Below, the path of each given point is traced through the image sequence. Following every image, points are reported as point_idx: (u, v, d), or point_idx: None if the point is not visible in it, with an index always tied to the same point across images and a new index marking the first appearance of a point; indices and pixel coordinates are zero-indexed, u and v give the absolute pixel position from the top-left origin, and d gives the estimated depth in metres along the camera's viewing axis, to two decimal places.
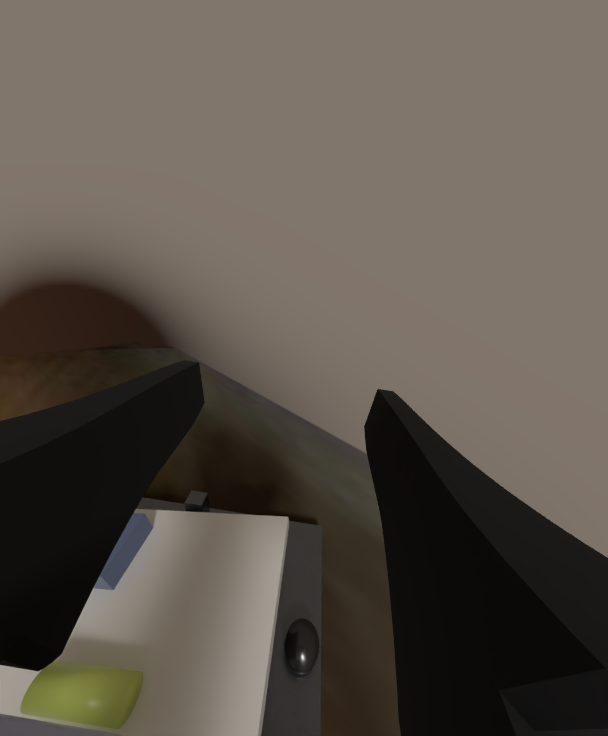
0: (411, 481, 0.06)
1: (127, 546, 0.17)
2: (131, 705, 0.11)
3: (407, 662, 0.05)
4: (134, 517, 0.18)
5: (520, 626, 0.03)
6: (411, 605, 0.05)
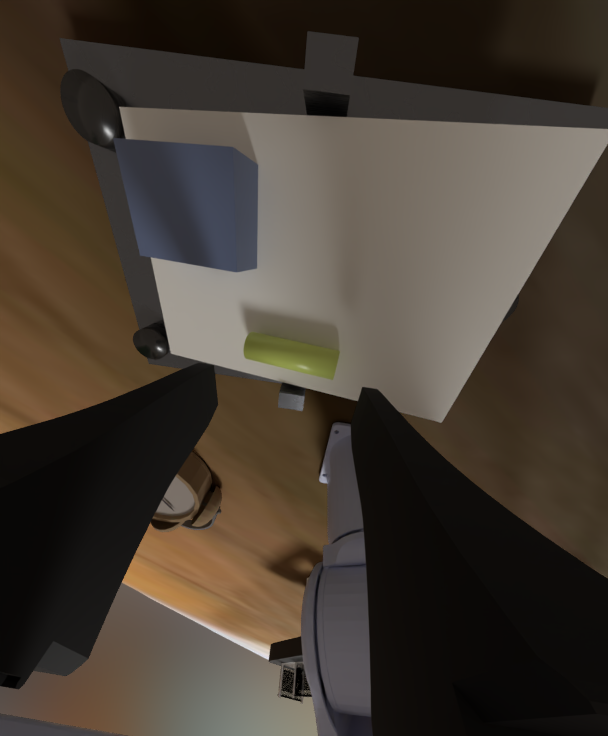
0: (387, 478, 0.06)
1: (242, 220, 0.09)
2: (337, 364, 0.12)
3: (379, 658, 0.05)
4: (217, 158, 0.08)
5: (471, 619, 0.03)
6: (384, 601, 0.05)
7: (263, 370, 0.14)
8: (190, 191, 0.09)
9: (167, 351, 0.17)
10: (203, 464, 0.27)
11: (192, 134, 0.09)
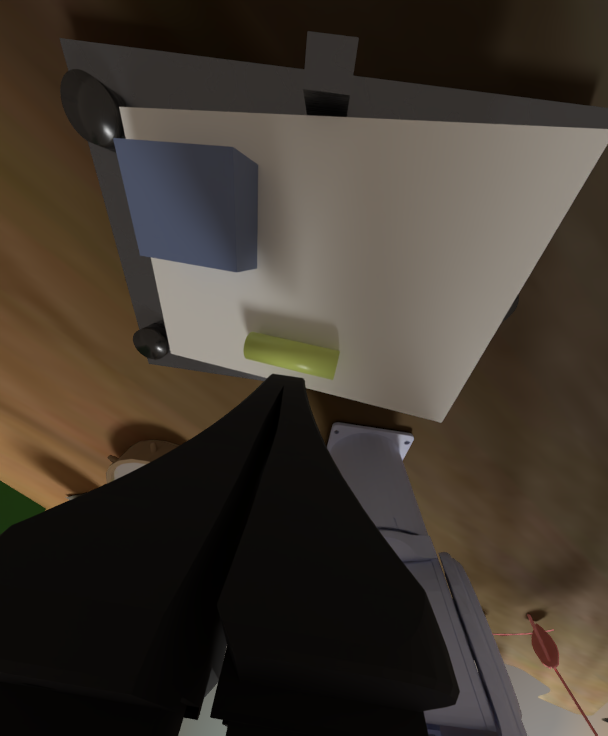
0: None
1: (242, 220, 0.09)
2: (337, 364, 0.12)
3: None
4: (217, 158, 0.08)
5: None
6: None
7: (263, 370, 0.14)
8: (190, 191, 0.09)
9: (167, 351, 0.17)
10: None
11: (192, 134, 0.09)
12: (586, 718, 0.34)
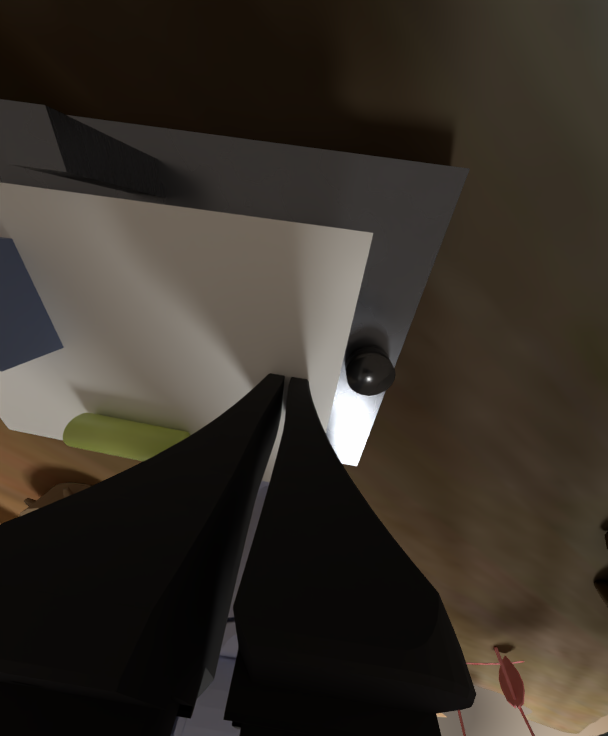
0: None
1: None
2: None
3: None
4: None
5: None
6: None
7: None
8: None
9: None
10: None
11: None
12: None
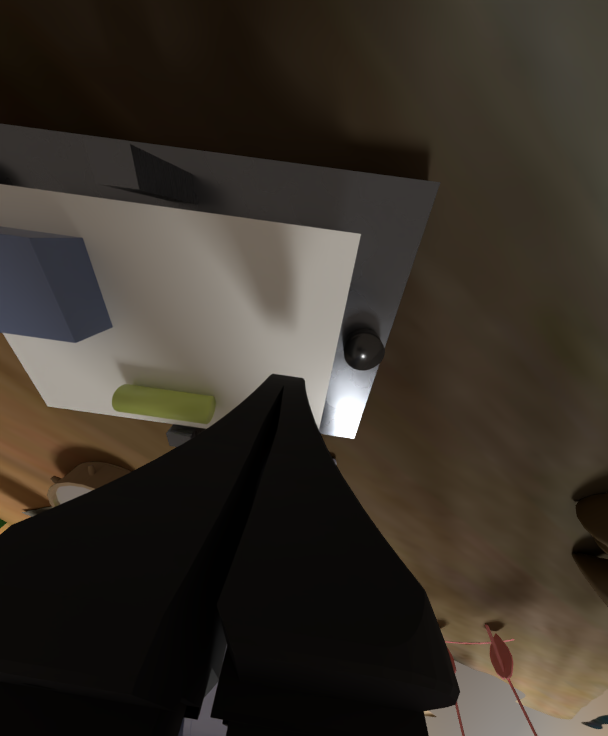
0: None
1: (69, 294, 0.09)
2: (213, 406, 0.13)
3: None
4: (16, 245, 0.08)
5: None
6: None
7: None
8: None
9: None
10: None
11: (2, 205, 0.09)
12: (533, 729, 0.34)
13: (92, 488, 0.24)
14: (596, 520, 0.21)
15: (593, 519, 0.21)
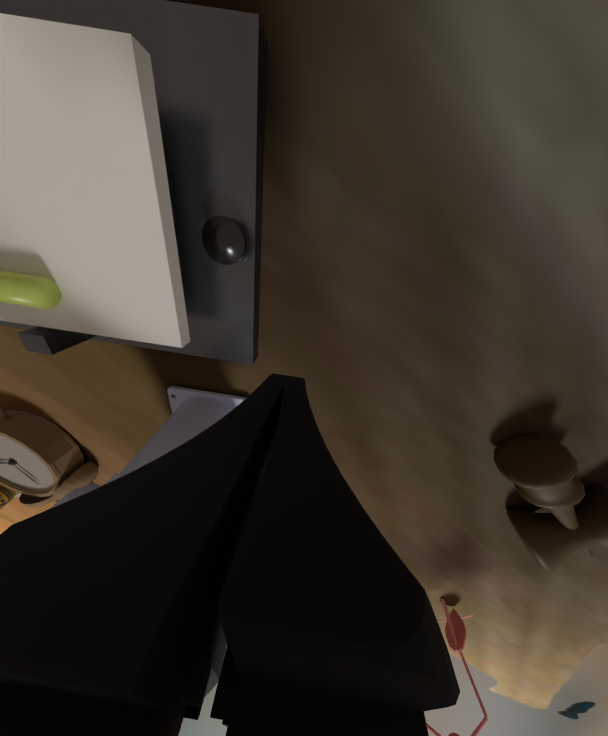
0: None
1: None
2: (54, 294, 0.12)
3: None
4: None
5: None
6: None
7: None
8: None
9: None
10: (67, 437, 0.26)
11: None
12: (479, 699, 0.33)
13: None
14: (508, 460, 0.20)
15: (506, 459, 0.20)
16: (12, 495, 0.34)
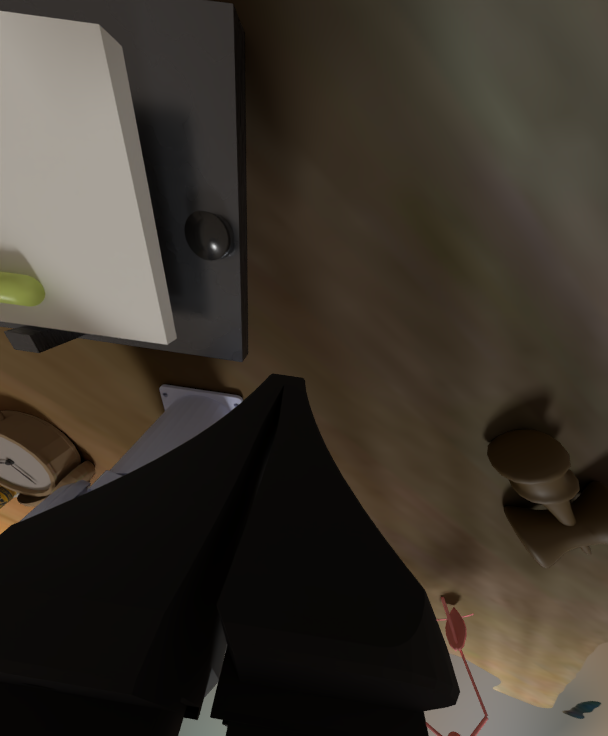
0: None
1: None
2: (37, 291, 0.12)
3: None
4: None
5: None
6: None
7: None
8: None
9: None
10: (63, 436, 0.27)
11: None
12: (479, 698, 0.33)
13: None
14: (501, 455, 0.20)
15: (499, 455, 0.20)
16: (11, 495, 0.34)
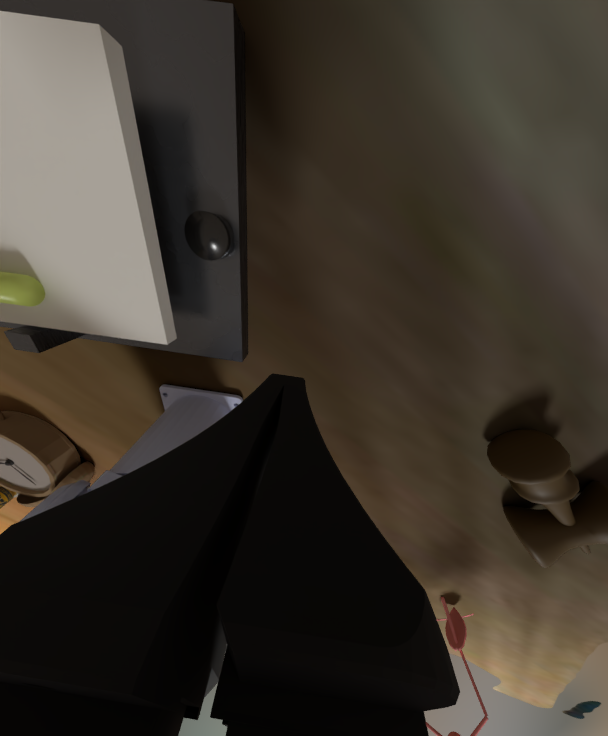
0: None
1: None
2: (37, 291, 0.12)
3: None
4: None
5: None
6: None
7: None
8: None
9: None
10: (63, 437, 0.27)
11: None
12: (479, 698, 0.33)
13: None
14: (501, 455, 0.20)
15: (499, 455, 0.20)
16: (11, 495, 0.34)
